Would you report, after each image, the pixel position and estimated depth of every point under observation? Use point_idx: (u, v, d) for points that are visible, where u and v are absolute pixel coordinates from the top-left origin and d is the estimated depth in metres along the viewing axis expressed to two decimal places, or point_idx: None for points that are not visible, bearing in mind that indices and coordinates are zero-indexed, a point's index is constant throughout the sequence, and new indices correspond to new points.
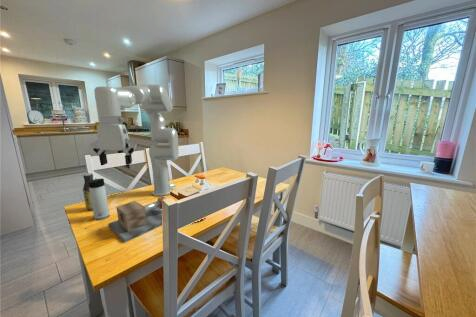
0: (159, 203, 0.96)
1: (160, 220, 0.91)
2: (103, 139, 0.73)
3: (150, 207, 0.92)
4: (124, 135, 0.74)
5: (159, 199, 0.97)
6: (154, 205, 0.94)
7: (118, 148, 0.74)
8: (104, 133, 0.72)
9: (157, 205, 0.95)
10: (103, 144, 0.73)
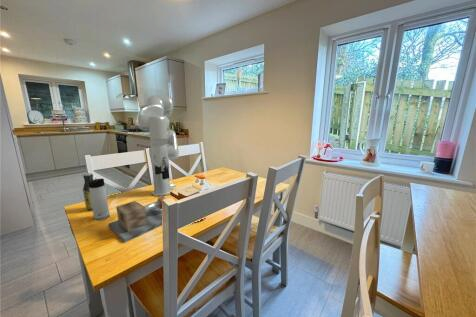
0: (159, 203, 0.96)
1: (160, 220, 0.91)
2: None
3: (150, 207, 0.92)
4: None
5: (159, 199, 0.97)
6: (154, 205, 0.94)
7: None
8: None
9: (157, 205, 0.95)
10: None
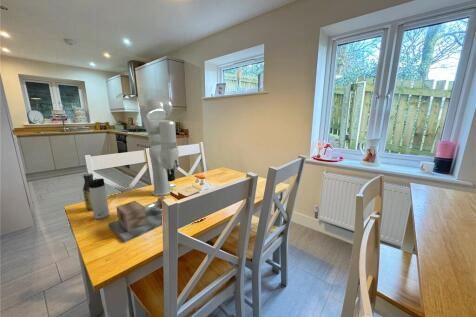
0: (159, 203, 0.96)
1: (160, 220, 0.91)
2: None
3: (150, 207, 0.92)
4: None
5: (159, 199, 0.97)
6: (154, 205, 0.94)
7: None
8: None
9: (157, 205, 0.95)
10: None
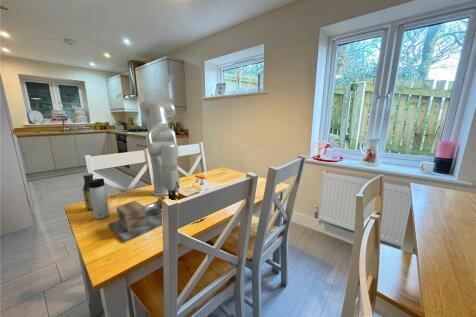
0: (159, 203, 0.96)
1: (160, 220, 0.91)
2: None
3: (150, 207, 0.92)
4: None
5: (159, 199, 0.97)
6: (154, 205, 0.94)
7: None
8: None
9: (157, 205, 0.95)
10: None
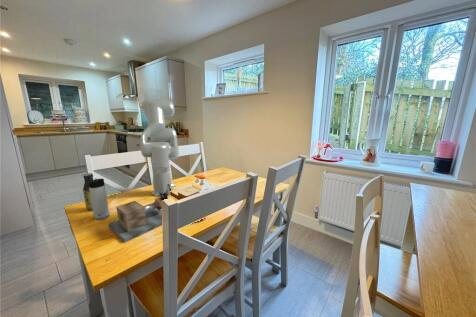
0: (156, 204, 0.94)
1: (160, 220, 0.91)
2: None
3: (147, 208, 0.91)
4: None
5: (156, 200, 0.96)
6: (151, 206, 0.92)
7: None
8: None
9: (154, 206, 0.93)
10: None
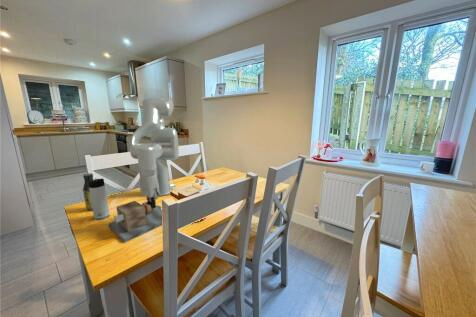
0: None
1: (160, 220, 0.91)
2: None
3: None
4: None
5: (143, 205, 0.91)
6: None
7: None
8: None
9: None
10: None
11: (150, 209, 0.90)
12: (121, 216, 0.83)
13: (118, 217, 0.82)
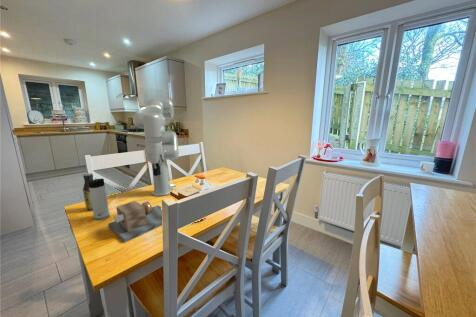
0: None
1: (160, 220, 0.91)
2: None
3: None
4: None
5: (143, 205, 0.91)
6: None
7: None
8: None
9: None
10: None
11: (150, 209, 0.91)
12: (121, 216, 0.83)
13: (118, 217, 0.82)
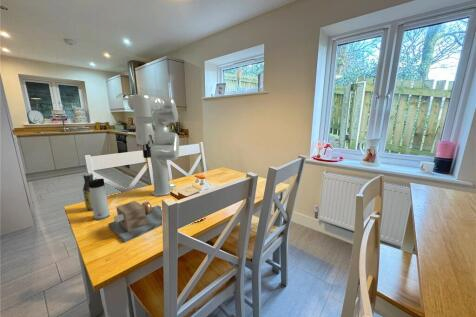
0: None
1: (160, 220, 0.91)
2: None
3: None
4: None
5: (143, 205, 0.91)
6: None
7: None
8: None
9: None
10: None
11: (150, 209, 0.91)
12: (121, 216, 0.83)
13: (118, 217, 0.82)
